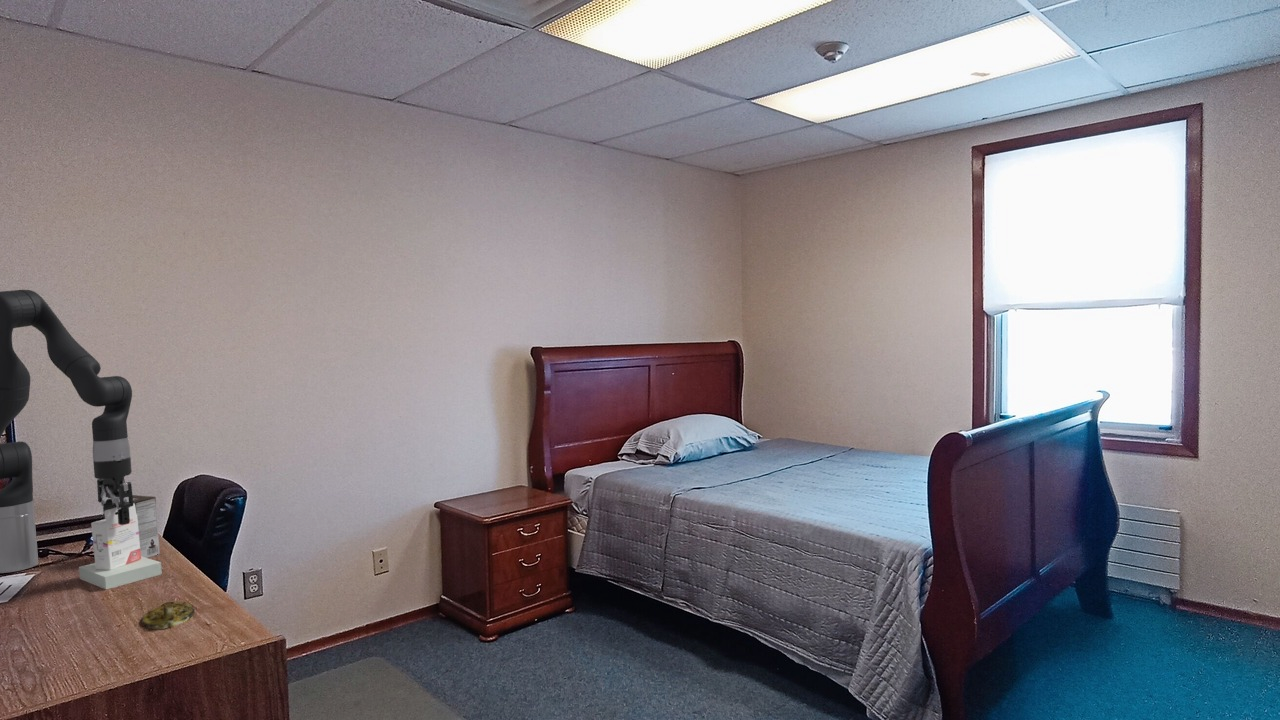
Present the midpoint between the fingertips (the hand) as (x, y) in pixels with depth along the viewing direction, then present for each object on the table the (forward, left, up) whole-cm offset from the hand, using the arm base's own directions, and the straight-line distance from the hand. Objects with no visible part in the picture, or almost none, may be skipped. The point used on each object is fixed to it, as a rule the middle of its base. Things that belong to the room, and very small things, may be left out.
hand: (116, 522), depth 184 cm
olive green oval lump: (+42, -7, -14) cm, 45 cm away
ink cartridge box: (0, 0, -11) cm, 11 cm away
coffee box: (-16, +10, -14) cm, 23 cm away
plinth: (0, 0, -14) cm, 14 cm away
